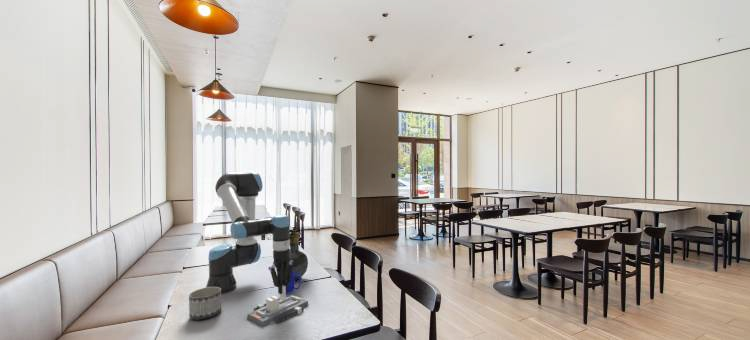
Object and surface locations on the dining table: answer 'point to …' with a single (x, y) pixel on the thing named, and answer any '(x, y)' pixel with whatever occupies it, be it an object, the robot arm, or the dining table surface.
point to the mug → (291, 284)
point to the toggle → (272, 303)
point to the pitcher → (297, 255)
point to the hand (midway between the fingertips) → (282, 299)
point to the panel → (285, 307)
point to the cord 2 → (290, 314)
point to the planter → (205, 303)
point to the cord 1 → (260, 306)
